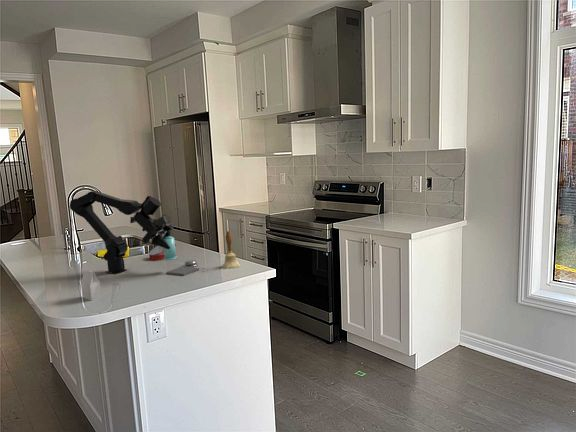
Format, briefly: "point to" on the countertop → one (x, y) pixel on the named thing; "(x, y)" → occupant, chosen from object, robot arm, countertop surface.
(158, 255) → the canned food
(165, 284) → the countertop surface
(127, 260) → the countertop surface
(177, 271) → the mat
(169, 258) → the teal cylinder
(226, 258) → the hand bell
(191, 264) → the metal domed disc
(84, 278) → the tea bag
